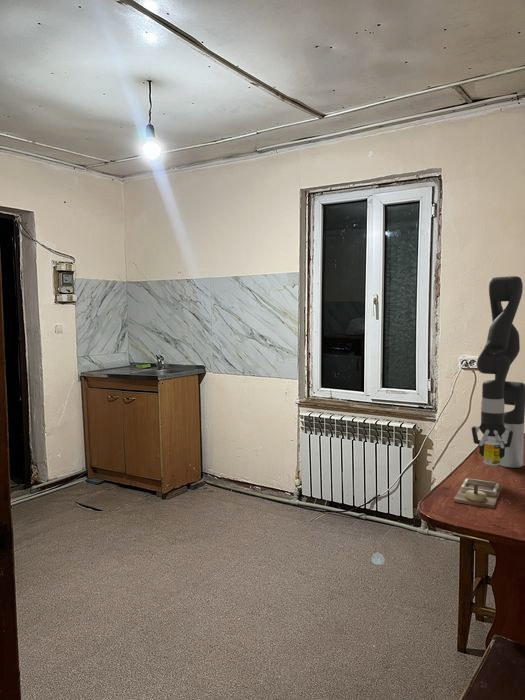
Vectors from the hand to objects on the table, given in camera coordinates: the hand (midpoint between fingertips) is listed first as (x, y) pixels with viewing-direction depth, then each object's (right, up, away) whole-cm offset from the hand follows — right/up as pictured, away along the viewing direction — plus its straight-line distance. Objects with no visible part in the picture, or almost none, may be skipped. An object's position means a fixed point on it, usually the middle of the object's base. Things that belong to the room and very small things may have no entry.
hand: (491, 456), depth 187 cm
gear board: (-10, -11, -13) cm, 19 cm away
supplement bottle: (0, -3, 0) cm, 3 cm away
